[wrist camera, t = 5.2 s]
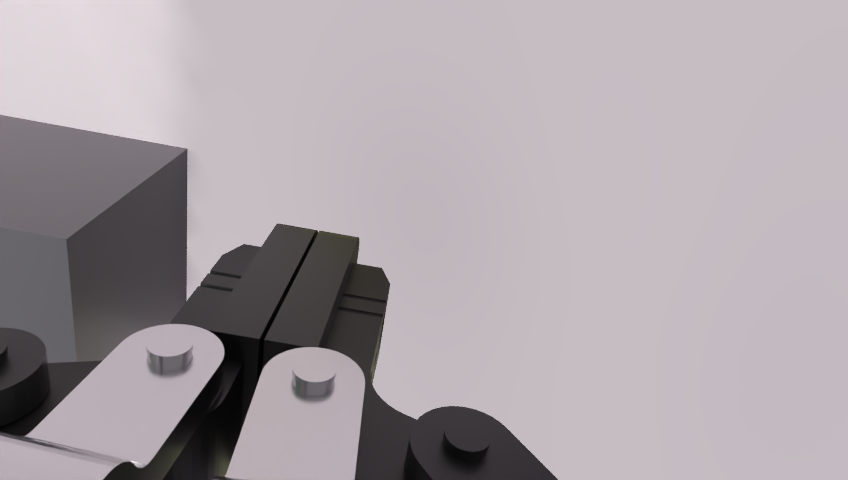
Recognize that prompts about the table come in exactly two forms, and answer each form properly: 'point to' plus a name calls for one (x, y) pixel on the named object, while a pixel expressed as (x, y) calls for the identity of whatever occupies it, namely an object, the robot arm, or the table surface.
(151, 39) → the table surface
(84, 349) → the plug rod
